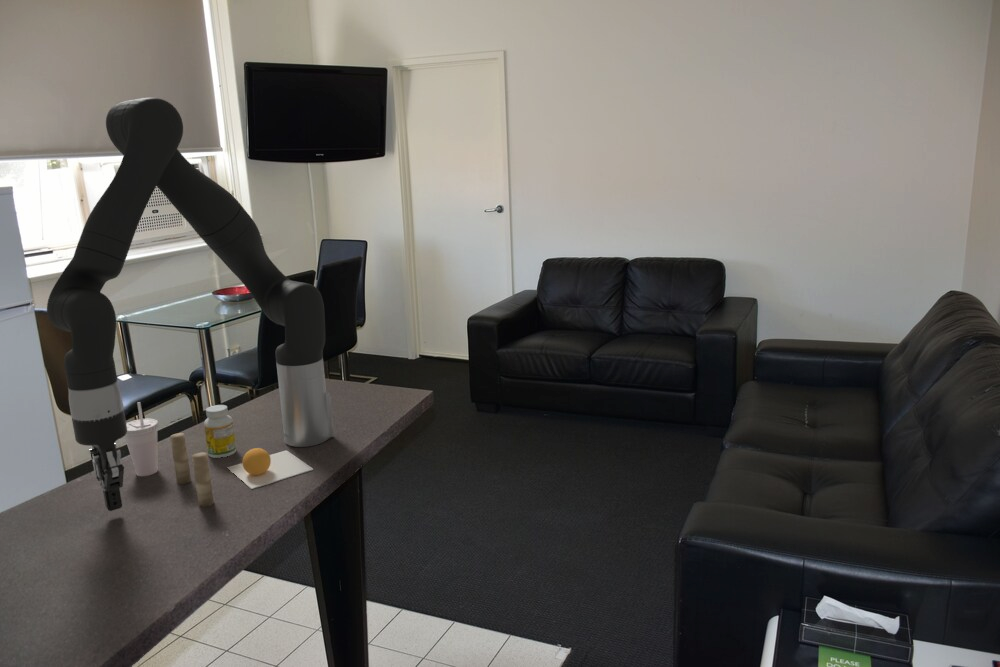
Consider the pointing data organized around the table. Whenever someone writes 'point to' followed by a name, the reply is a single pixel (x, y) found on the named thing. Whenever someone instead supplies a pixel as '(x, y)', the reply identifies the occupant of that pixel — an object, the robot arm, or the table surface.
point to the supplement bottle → (219, 432)
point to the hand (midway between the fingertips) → (114, 507)
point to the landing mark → (272, 470)
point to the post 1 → (180, 458)
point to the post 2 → (202, 479)
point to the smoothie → (143, 444)
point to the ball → (256, 461)
